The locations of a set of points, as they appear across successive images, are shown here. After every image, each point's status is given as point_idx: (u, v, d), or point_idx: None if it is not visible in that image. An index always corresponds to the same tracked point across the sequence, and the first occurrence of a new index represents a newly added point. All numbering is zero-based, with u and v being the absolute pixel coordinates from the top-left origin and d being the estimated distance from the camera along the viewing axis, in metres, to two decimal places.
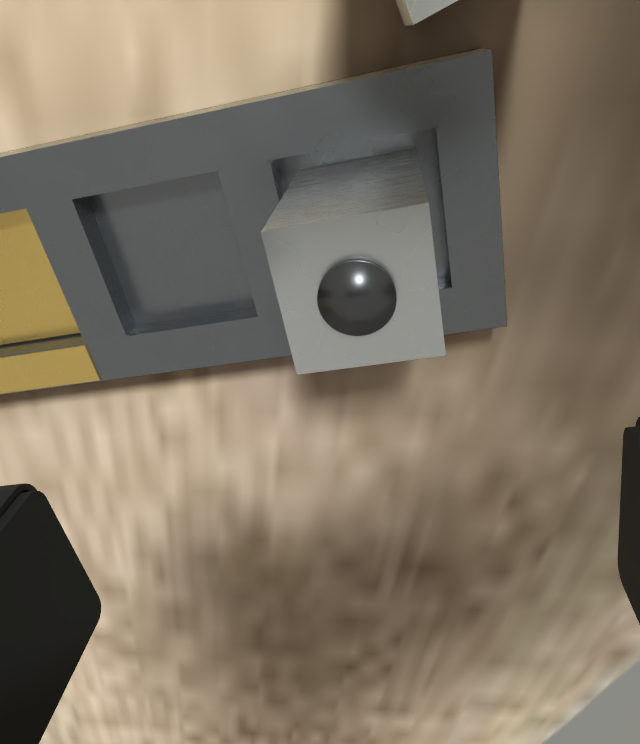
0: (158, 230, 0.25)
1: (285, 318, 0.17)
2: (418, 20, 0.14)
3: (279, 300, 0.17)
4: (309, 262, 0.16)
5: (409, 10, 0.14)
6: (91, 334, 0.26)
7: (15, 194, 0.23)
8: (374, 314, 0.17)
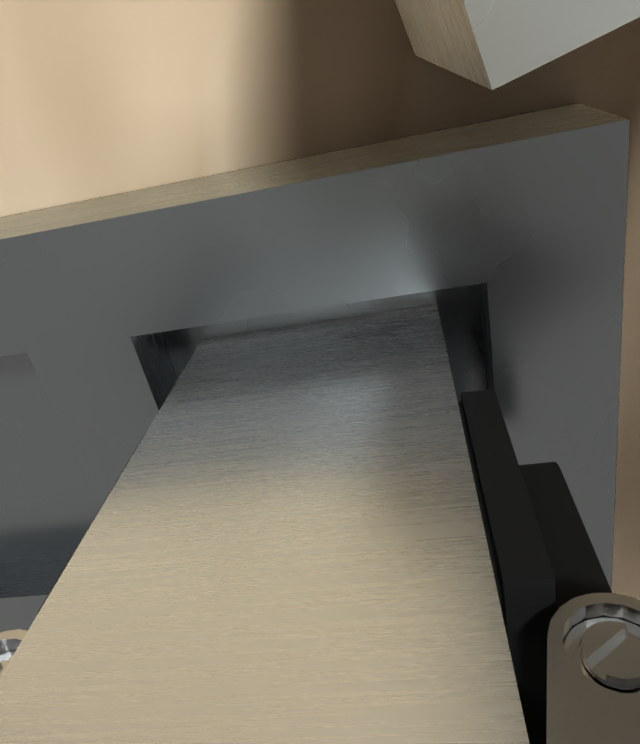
0: None
1: None
2: (518, 71, 0.03)
3: None
4: None
5: (475, 23, 0.03)
6: None
7: None
8: None
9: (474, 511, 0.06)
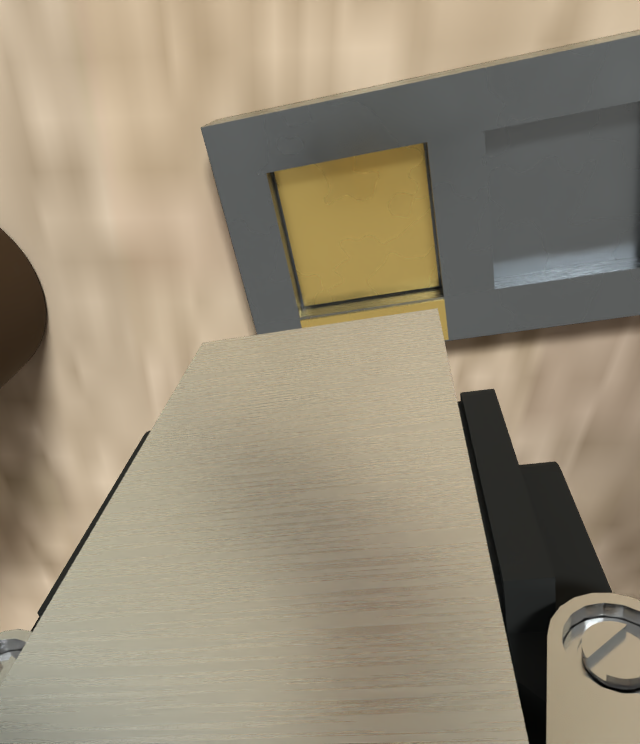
0: (550, 170, 0.23)
1: None
2: None
3: None
4: None
5: None
6: (454, 287, 0.24)
7: (420, 125, 0.21)
8: None
9: (475, 517, 0.06)
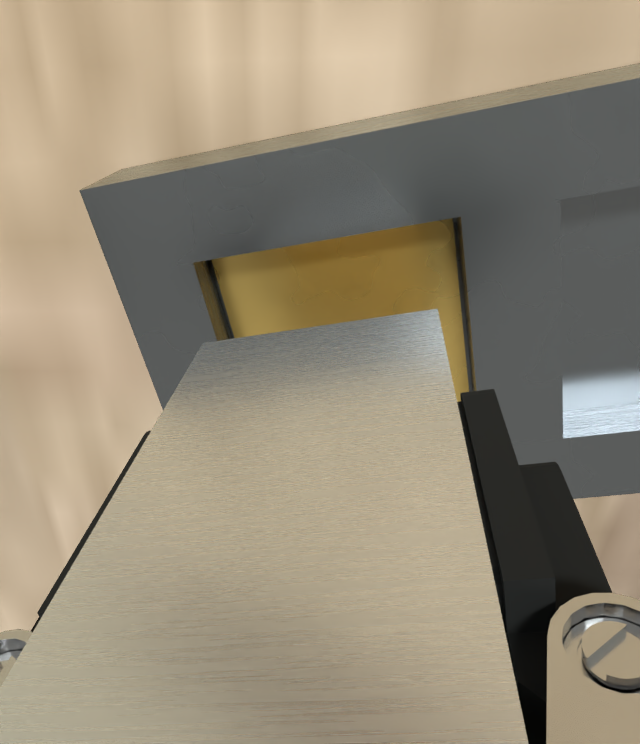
0: None
1: None
2: None
3: None
4: None
5: None
6: None
7: (449, 190, 0.12)
8: None
9: (475, 518, 0.06)
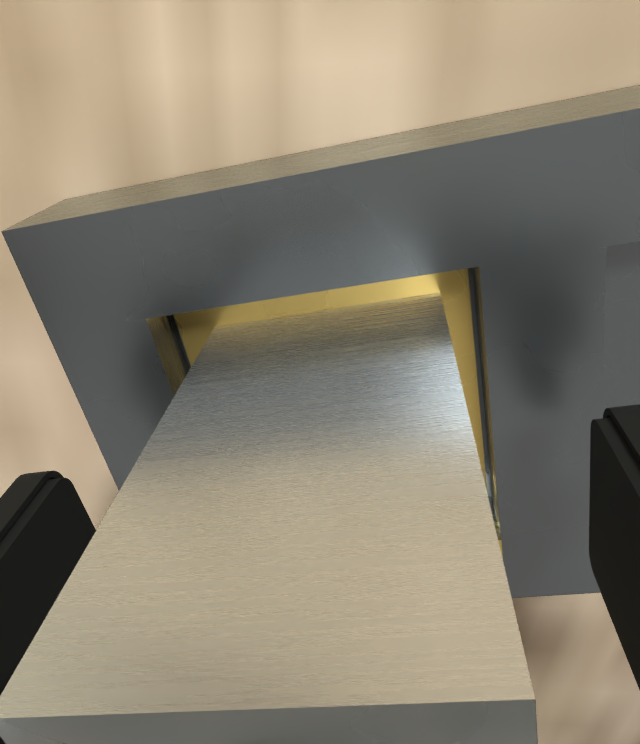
0: None
1: None
2: None
3: None
4: None
5: None
6: (522, 519, 0.12)
7: (465, 234, 0.10)
8: None
9: (476, 474, 0.07)
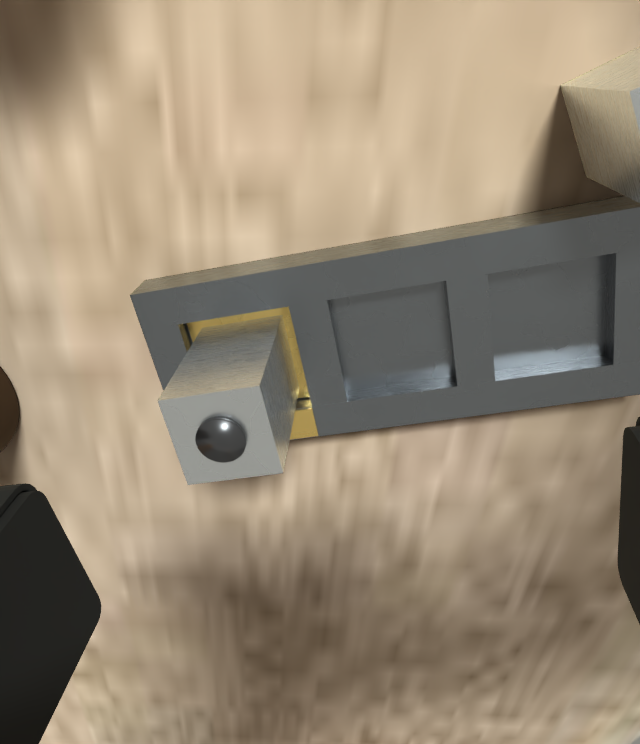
0: (380, 320, 0.32)
1: (177, 450, 0.27)
2: None
3: (172, 440, 0.26)
4: (189, 418, 0.26)
5: None
6: (318, 400, 0.33)
7: (282, 296, 0.30)
8: (232, 449, 0.26)
9: (266, 359, 0.27)
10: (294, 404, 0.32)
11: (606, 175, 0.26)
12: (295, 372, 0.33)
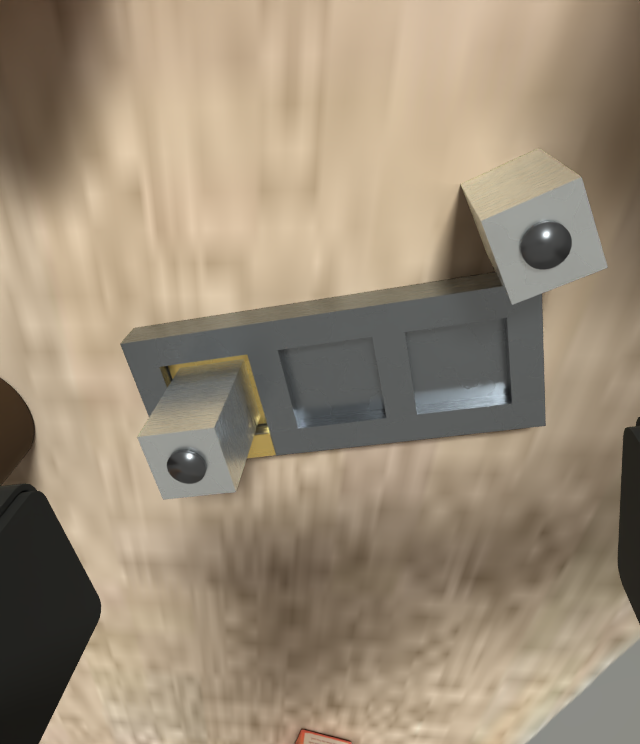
0: (324, 364, 0.39)
1: (153, 473, 0.34)
2: (514, 303, 0.29)
3: (149, 466, 0.34)
4: (162, 450, 0.33)
5: (510, 299, 0.29)
6: (275, 427, 0.40)
7: (242, 346, 0.38)
8: (195, 474, 0.34)
9: (224, 402, 0.35)
10: (253, 432, 0.39)
11: (491, 261, 0.33)
12: (256, 404, 0.41)
